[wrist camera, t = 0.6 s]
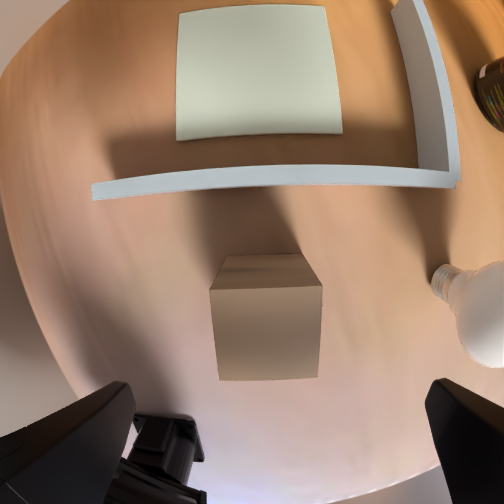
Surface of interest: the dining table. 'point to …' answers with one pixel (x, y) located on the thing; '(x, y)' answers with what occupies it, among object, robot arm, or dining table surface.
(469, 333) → the lightbulb
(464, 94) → the dining table surface
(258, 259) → the walnut block
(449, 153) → the plastic wall
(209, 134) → the plate
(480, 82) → the supplement container
